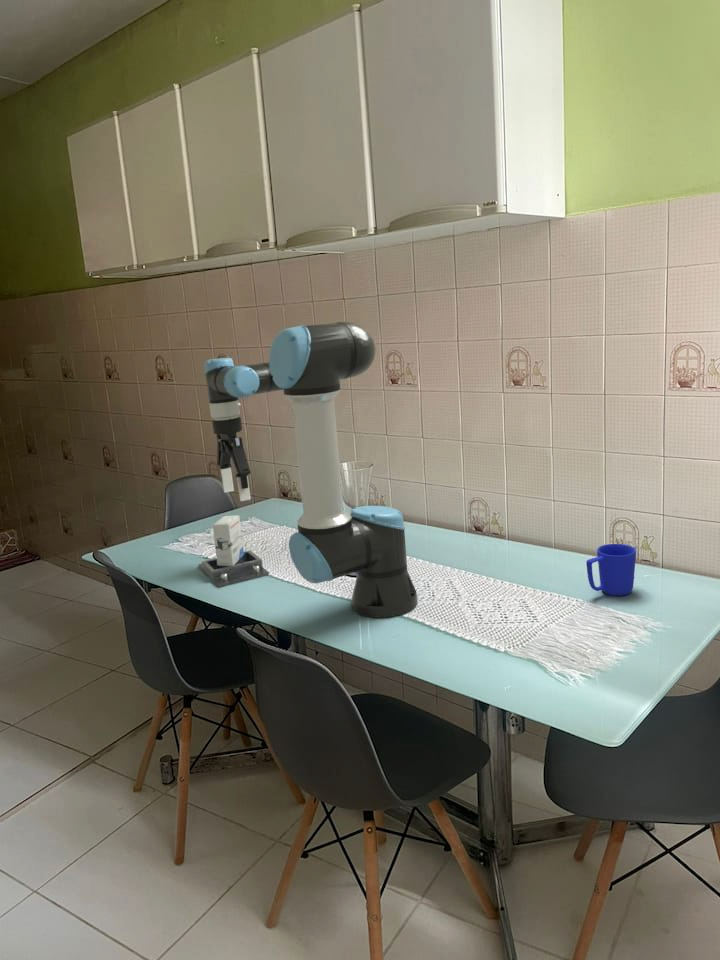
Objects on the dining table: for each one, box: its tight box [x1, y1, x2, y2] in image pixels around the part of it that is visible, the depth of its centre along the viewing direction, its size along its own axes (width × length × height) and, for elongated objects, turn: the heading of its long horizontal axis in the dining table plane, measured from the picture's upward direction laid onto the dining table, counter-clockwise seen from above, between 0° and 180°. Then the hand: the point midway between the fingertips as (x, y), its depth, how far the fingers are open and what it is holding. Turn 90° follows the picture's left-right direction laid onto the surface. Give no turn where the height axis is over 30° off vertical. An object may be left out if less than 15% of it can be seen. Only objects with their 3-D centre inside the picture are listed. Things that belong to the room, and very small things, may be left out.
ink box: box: [212, 515, 245, 566], centre depth 198 cm, size 9×5×12 cm, turn 168°
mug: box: [586, 543, 637, 597], centre depth 162 cm, size 8×12×10 cm
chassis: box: [197, 549, 270, 589], centre depth 200 cm, size 20×14×3 cm
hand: (237, 495), depth 196 cm, fingers open, 13 cm apart
